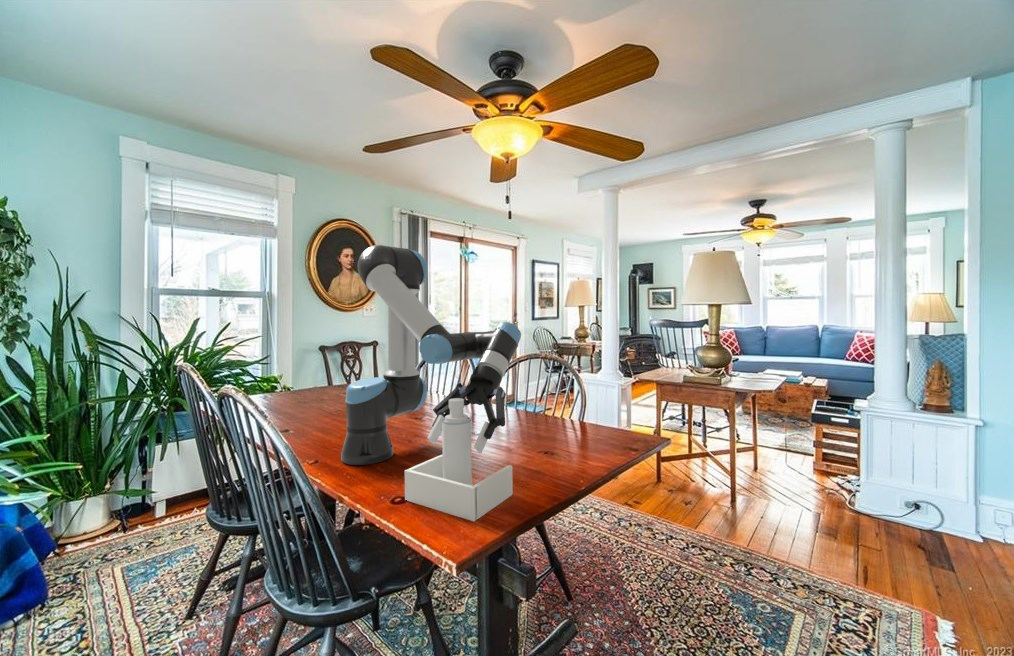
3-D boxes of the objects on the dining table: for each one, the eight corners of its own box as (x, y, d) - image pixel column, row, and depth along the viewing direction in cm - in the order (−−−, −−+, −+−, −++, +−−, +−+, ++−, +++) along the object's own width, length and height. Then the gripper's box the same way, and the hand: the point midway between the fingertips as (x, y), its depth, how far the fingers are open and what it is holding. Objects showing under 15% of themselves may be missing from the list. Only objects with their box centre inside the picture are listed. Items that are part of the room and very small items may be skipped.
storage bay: (405, 500, 100) (404, 470, 100) (447, 478, 113) (447, 451, 113) (474, 521, 89) (473, 488, 89) (512, 494, 102) (512, 465, 102)
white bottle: (473, 492, 104) (472, 390, 103) (470, 504, 97) (468, 395, 96) (445, 492, 104) (444, 390, 103) (440, 504, 97) (439, 395, 96)
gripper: (536, 385, 106) (505, 462, 94) (457, 377, 120) (421, 445, 107) (526, 366, 102) (491, 445, 90) (445, 361, 115) (405, 429, 103)
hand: (453, 445), depth 98 cm, fingers open, 13 cm apart
